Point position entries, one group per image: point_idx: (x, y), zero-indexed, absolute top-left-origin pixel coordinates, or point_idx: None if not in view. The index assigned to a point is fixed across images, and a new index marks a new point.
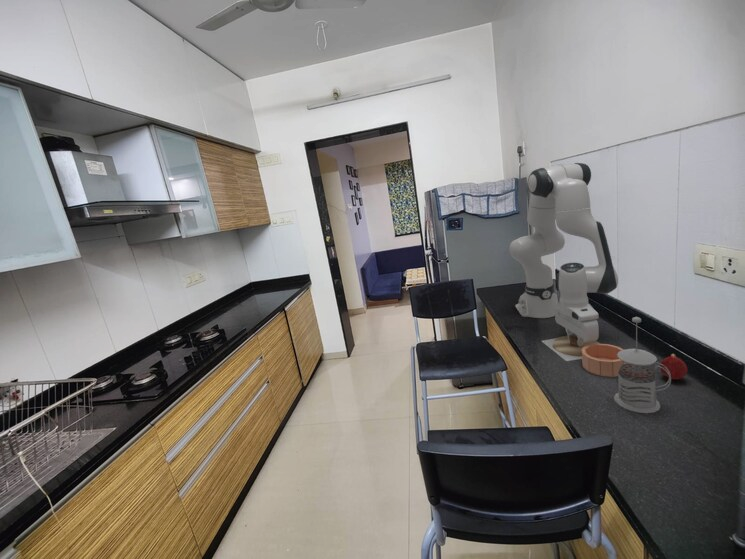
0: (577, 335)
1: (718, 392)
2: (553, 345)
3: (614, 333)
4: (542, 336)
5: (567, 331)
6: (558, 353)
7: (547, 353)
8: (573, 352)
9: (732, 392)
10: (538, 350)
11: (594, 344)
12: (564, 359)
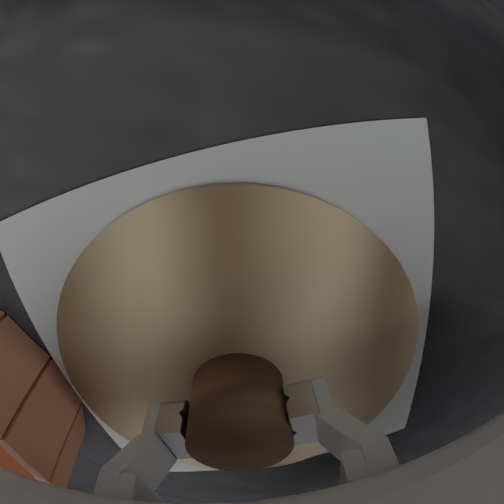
0: (77, 496)
1: None
2: (250, 190)
3: None
4: (495, 180)
5: (351, 442)
6: (97, 196)
7: (136, 91)
8: (78, 324)
9: None
10: (223, 20)
11: (33, 470)
12: (8, 218)
